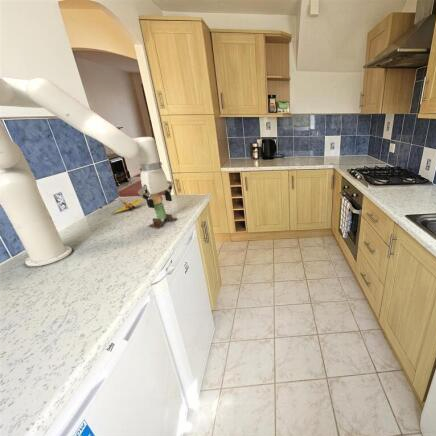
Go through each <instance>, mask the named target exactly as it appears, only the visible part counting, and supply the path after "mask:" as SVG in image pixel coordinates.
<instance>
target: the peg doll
mask: <svg viewBox="0 0 436 436" xmlns="http://www.w3.org/2000/svg"><path fill="white" fill-rule="evenodd" d="M151 199H152V200H153V203H154V208H153V209H154V212H155V215H156V218H157V219H161V220H164V218H166V217H167V216H166V214H167V212H166V210H165V207H164V203H163V196H162V195H161V194H160V193H156V194H153V195H152V197H151Z"/></svg>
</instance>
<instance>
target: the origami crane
mask: <svg viewBox="0 0 436 436" xmlns="http://www.w3.org/2000/svg"><path fill="white" fill-rule="evenodd" d="M118 200H119V201H120V202H121V203H122V205H124V206H121V207H120V208H119V209H118V210H115V211H114V212H113V213H112V215H115V214H117V213H121V212H124V211H127V210H134V209H135V207H136V206H138V205H139V204H140V203H142V202H143V200H145V199H144V198H139V199H135V200H133V201H131V202H128V203H127V202H126V201H123V199H121V198H119V199H118Z"/></svg>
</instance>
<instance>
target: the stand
mask: <svg viewBox="0 0 436 436" xmlns="http://www.w3.org/2000/svg"><path fill="white" fill-rule="evenodd" d="M166 216H167V217H166V218H164V219H163V220H164V221H167V222H175V221H178V218H176V217H173V215H172V214H170V213H166ZM148 226H149V227H150V228H155V229H160V228H163V221H162V219H158V218H157V217H154V218H152V223H151V224H149V225H148Z"/></svg>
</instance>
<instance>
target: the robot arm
mask: <svg viewBox="0 0 436 436" xmlns="http://www.w3.org/2000/svg"><path fill="white" fill-rule="evenodd" d="M0 106H1V107H19V108H35V109H44V110H46V111H48V112H49V113H51V114H52V115H54V116H55V117H57V118H58V119H60V120H62V121H63V122H64V123H66V124H67V125H69V126H71V127H72V128H74V129H75V130H77V131H78V132H80V133H82V134H84V135H86V136H88V137H91V138H93V139H95V140H96V141H97V142H99V143H101V144H102V145H104V146H106V147H108V148H109V149H111V150H112V151H113V153H115V154H116V155H117V156H119V157H122V158H124V159H128V160H133V159H136V158H138V160H139V165H140V168H141V171H140V183H141V188H139V190H138V191H137V194H138V195H139V196H140V197H141V199H143V198H144V199H143V200H145V201H146V204H147V207H148V208H151V209H154V203H153V200H152V199H151V197H152V195H153V194H156V193H157V194H160V193H161V192H164V197H165V201H166V202H173V199H172V195H171V193H172V190H173V185H174V182H173V181H171V180H168V178H167V176H166V173H165V171H164V169H163V167H162V166H163V163H162V162H161V160H160V156H159V152H158V148H157V143H156V139H155V138H154V137H152V136H140V137H130V136H129V135H128V134H126V133H125V132H123V131H122V130H120V129H119V128H118V127H116V126H115V125H113V124H112V123H111V122H109V121H107V120H106V119H105V118H103V117H102V116H100V115H99V114H97V113H96V112H95V111H93V110H92V109H91V108H89V107H87V106H86V105H85V104H83V103H82V102H80V100H78V99H76V98H75V97H74V96H73V95H71V94H70V93H68V92H67V91H65V90H64V89H63V88H61V87H60V86H58V85H57V84H56V83H54V82H52V81H51V80H49V79H47V78H43V77H35V78H31V79H19V78H10V77H4V76H3V77H2V76H0ZM0 206H1V208H2V209H3V211H4V212H5V214H6V216H7V218H8V220H9V222H10V223H11V226H12V227H13V230H14V231H15V233H16V234H17V237H18V238H19V241H20V242H21V244H22V246H23V248H24V250H25V252H26V253H27V255H28V257H26V258H25V260H24V263H25V265H26V266H27V267H41V266H46V265H51V264H53V263H56V262H59V261H61V260H63V259H65V258H67V257H68V256H70V254H72V252H73V249H72V247H71V246H68V245H64V243H63V240H62V238H61V236H60V234H59V231H58V229H57V227H56V225H55V223H54V220H53V218H52V216H51V214H50V212H49V210H48V208H47V206H46V203H45V201H44V199H43V197H42V194H41V192H40V190H39V187H38V183H37V179H36V177H35V175H34V173H33V170H31V167H30V165H29V163H28V161H27V160H26V157H25V156H24V153H23V151H22V150H21V148H20V146H19V145H18V144H17V143H16V142H15V141H13V140H12V138H11V137H10V135H9V133H8V131H7V129H6V126H5V125H4V123H3V120H2V119H1V117H0Z"/></svg>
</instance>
